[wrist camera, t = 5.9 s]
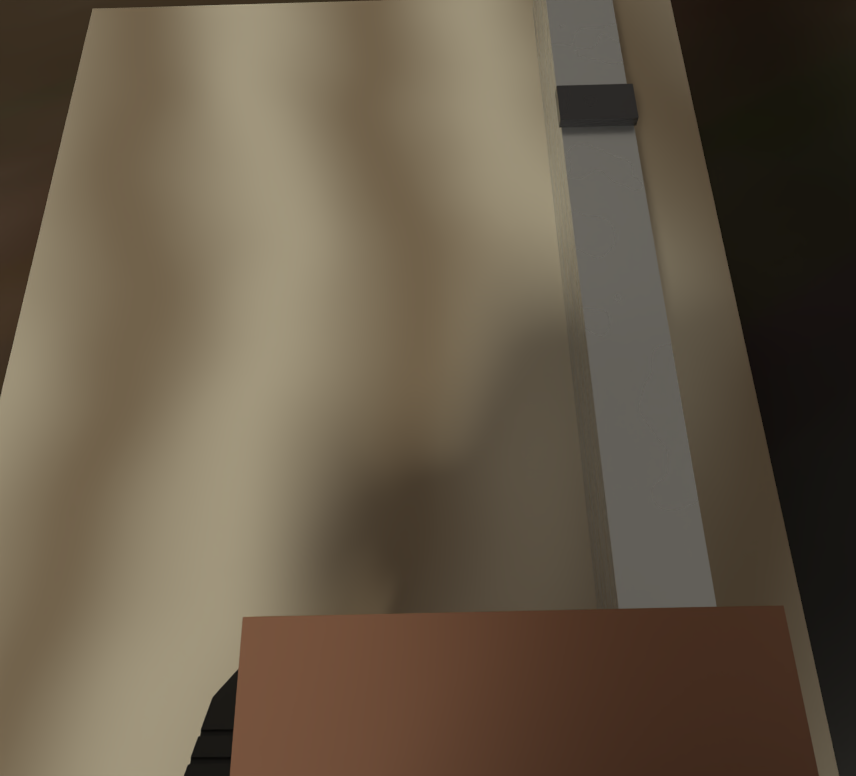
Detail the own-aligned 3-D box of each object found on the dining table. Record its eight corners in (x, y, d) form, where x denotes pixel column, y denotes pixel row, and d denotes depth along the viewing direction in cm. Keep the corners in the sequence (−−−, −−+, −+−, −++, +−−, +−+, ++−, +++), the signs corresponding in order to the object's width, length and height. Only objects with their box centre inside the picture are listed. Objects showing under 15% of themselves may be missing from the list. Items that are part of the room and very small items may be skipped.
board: (-148, 1272, 12) (-224, 1339, 11) (113, 52, 23) (92, 8, 22) (899, 1258, 12) (958, 1324, 10) (655, 37, 23) (668, -9, 22)
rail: (666, 1277, 11) (712, 1385, 9) (530, 8, 21) (538, -62, 19) (789, 1274, 11) (862, 1385, 9) (592, 6, 21) (606, -64, 19)
